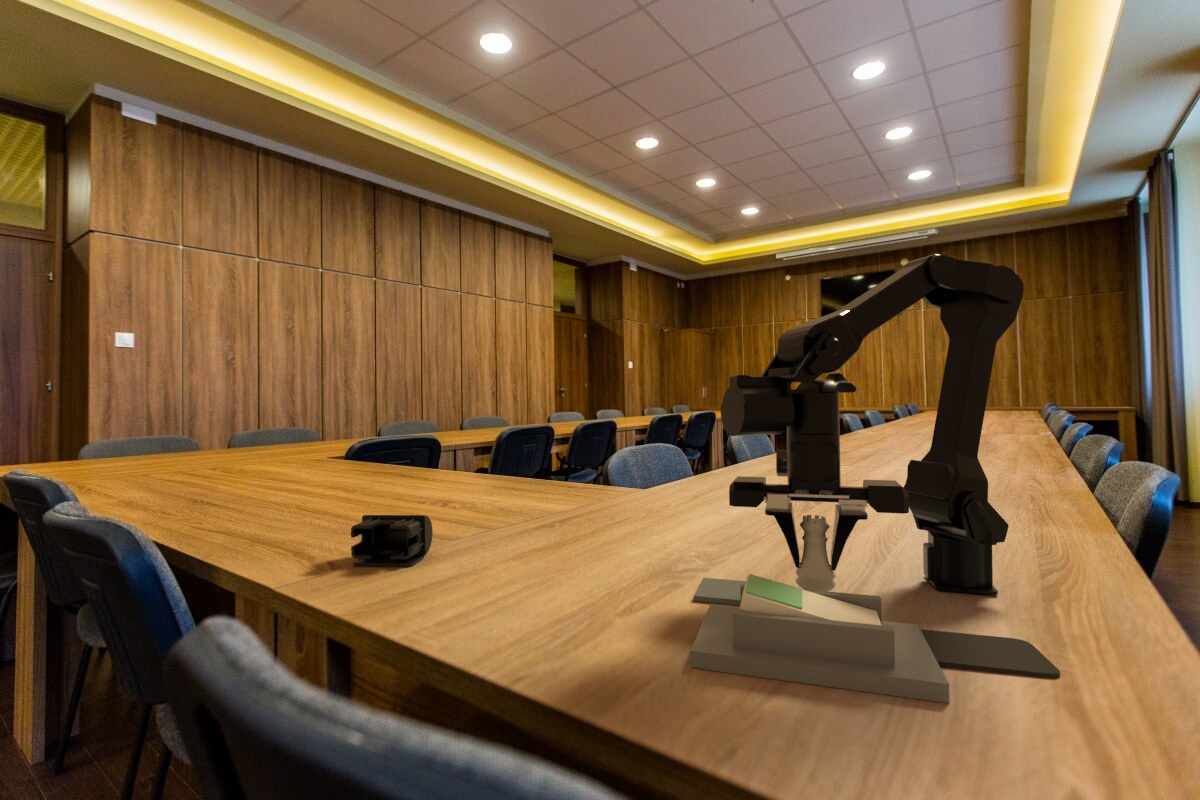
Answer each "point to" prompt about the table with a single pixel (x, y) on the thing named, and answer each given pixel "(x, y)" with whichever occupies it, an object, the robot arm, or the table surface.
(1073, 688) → the table surface
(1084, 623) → the table surface
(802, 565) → the rook chess piece
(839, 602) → the rocker
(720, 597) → the rubber pad
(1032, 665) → the phone
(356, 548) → the end cap
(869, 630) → the grey stand
